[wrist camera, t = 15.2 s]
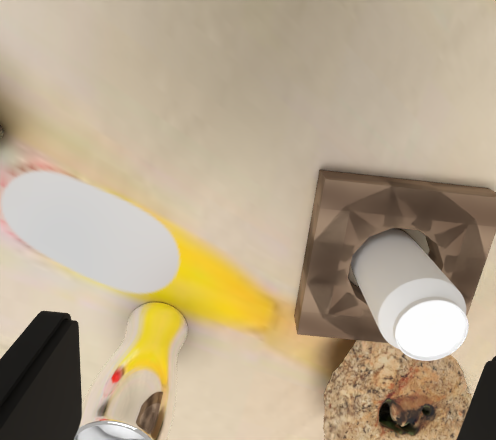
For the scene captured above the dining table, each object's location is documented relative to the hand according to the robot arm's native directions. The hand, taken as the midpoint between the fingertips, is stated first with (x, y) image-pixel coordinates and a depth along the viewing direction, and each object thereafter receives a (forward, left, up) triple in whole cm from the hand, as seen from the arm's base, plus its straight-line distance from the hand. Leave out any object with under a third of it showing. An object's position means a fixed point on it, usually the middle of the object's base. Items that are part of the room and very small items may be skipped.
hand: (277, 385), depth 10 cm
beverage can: (+9, +13, -28) cm, 32 cm away
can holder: (+9, +13, -28) cm, 32 cm away
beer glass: (+19, -8, -28) cm, 35 cm away
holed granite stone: (+23, +17, -29) cm, 40 cm away
